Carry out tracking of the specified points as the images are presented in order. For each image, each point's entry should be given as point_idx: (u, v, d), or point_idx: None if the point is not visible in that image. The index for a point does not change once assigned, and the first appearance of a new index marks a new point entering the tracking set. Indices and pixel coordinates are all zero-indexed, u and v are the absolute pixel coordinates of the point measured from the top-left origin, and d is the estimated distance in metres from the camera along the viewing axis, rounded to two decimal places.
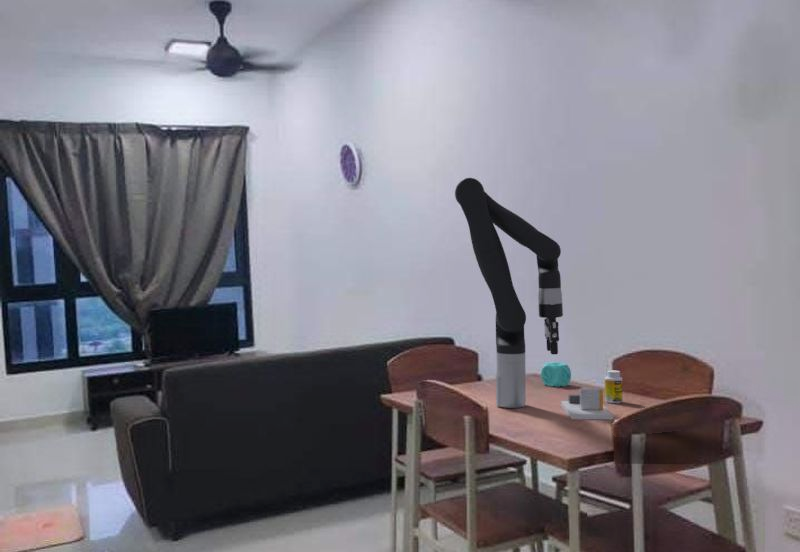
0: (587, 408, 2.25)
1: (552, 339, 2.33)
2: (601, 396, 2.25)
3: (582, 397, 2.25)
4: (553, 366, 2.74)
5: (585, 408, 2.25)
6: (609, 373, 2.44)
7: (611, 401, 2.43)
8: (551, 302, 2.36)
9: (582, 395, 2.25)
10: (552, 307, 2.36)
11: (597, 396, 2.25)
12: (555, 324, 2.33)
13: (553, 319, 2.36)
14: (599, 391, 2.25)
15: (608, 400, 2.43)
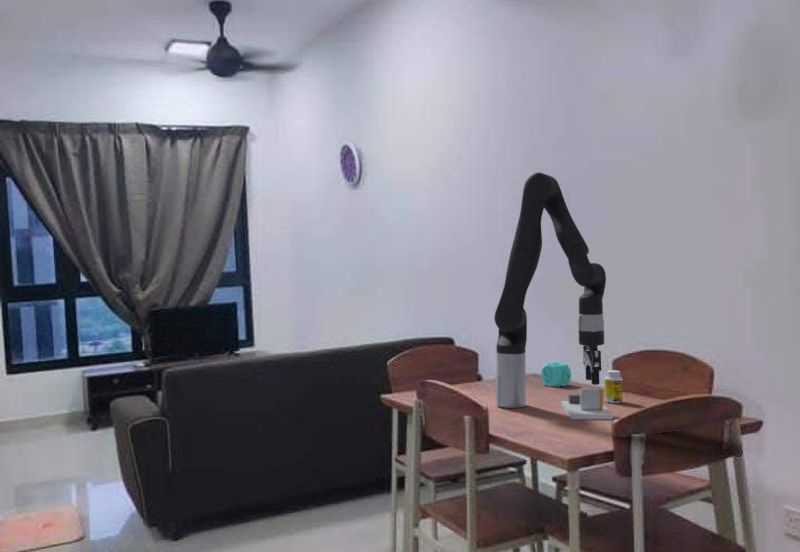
0: (587, 408, 2.25)
1: (594, 369, 2.19)
2: (601, 396, 2.25)
3: (582, 397, 2.25)
4: (553, 366, 2.74)
5: (585, 408, 2.25)
6: (609, 373, 2.44)
7: (611, 401, 2.43)
8: (593, 329, 2.22)
9: (582, 395, 2.25)
10: (594, 334, 2.22)
11: (597, 396, 2.25)
12: (597, 353, 2.19)
13: (595, 347, 2.22)
14: (599, 391, 2.25)
15: (608, 400, 2.43)
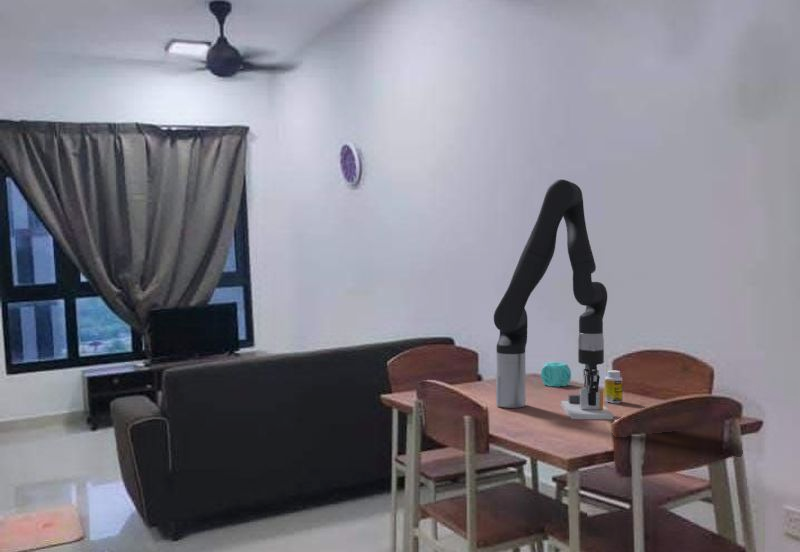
0: (587, 408, 2.25)
1: (591, 391, 2.22)
2: (601, 396, 2.25)
3: (582, 397, 2.25)
4: (553, 366, 2.74)
5: (585, 408, 2.25)
6: (609, 373, 2.44)
7: (611, 401, 2.43)
8: (592, 348, 2.22)
9: (582, 395, 2.25)
10: (593, 354, 2.22)
11: (597, 396, 2.25)
12: (596, 378, 2.20)
13: (594, 366, 2.22)
14: (599, 391, 2.25)
15: (608, 400, 2.43)
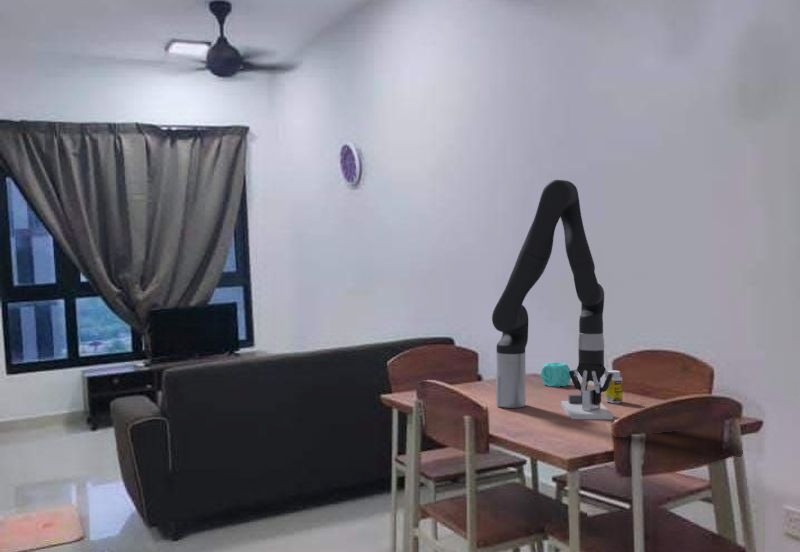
0: (592, 408, 2.25)
1: (605, 390, 2.24)
2: None
3: (590, 398, 2.24)
4: (553, 366, 2.74)
5: (591, 409, 2.24)
6: None
7: (611, 401, 2.43)
8: (603, 348, 2.24)
9: (590, 396, 2.24)
10: (603, 353, 2.24)
11: None
12: None
13: (603, 365, 2.25)
14: None
15: (608, 400, 2.43)
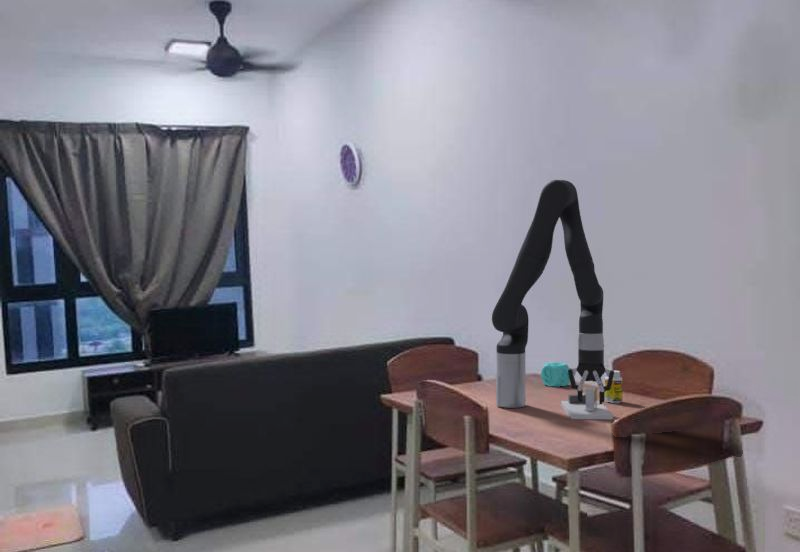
0: (594, 408, 2.25)
1: None
2: (596, 394, 2.29)
3: (594, 398, 2.23)
4: (553, 366, 2.74)
5: (594, 409, 2.24)
6: None
7: (611, 401, 2.43)
8: (603, 347, 2.25)
9: (594, 396, 2.23)
10: (603, 352, 2.25)
11: (595, 394, 2.28)
12: None
13: (603, 365, 2.25)
14: (596, 389, 2.28)
15: (608, 400, 2.43)
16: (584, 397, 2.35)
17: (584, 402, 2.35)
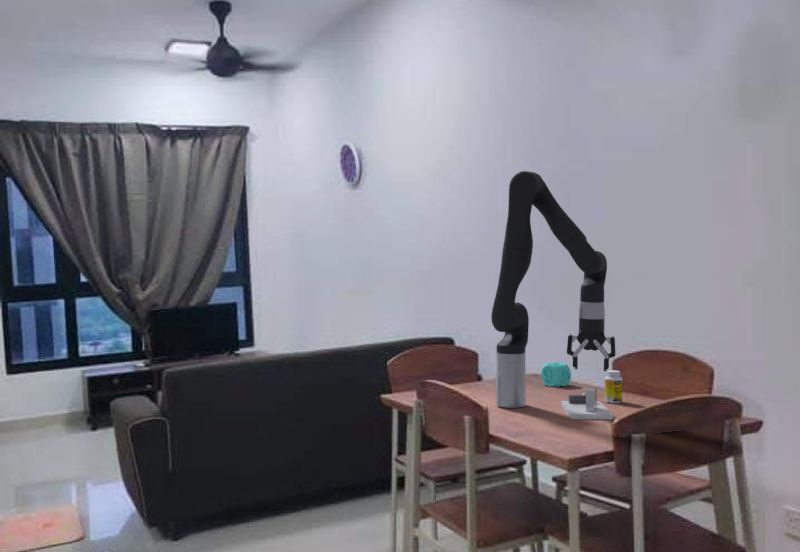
0: (594, 408, 2.25)
1: None
2: (596, 394, 2.29)
3: (594, 398, 2.23)
4: (553, 366, 2.74)
5: (594, 409, 2.24)
6: (609, 373, 2.44)
7: (611, 401, 2.43)
8: (604, 316, 2.25)
9: (594, 396, 2.23)
10: None
11: (595, 394, 2.28)
12: (614, 339, 2.25)
13: None
14: (596, 389, 2.28)
15: (608, 400, 2.43)
16: (584, 397, 2.35)
17: (584, 402, 2.35)
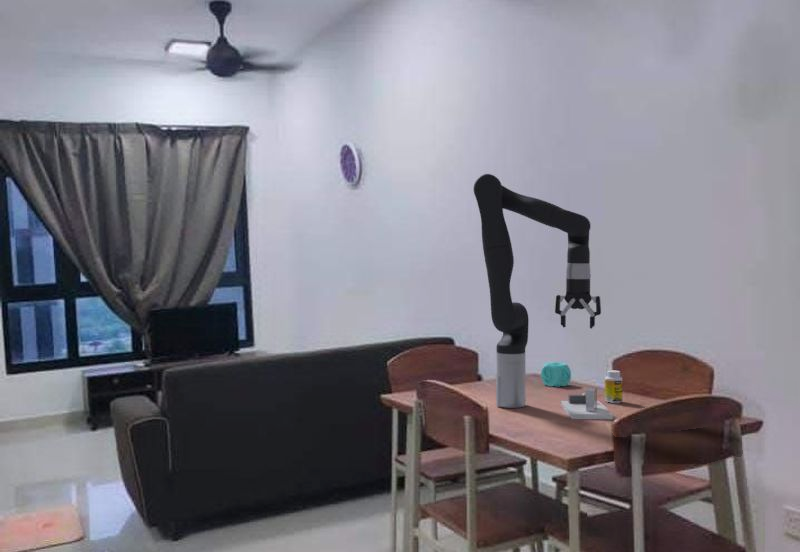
0: (594, 408, 2.25)
1: (600, 313, 2.37)
2: (596, 394, 2.29)
3: (594, 398, 2.23)
4: (553, 366, 2.74)
5: (594, 409, 2.24)
6: (609, 373, 2.44)
7: (611, 401, 2.43)
8: None
9: (594, 396, 2.23)
10: None
11: (595, 394, 2.28)
12: None
13: None
14: (596, 389, 2.28)
15: (608, 400, 2.43)
16: (584, 397, 2.35)
17: (584, 402, 2.35)
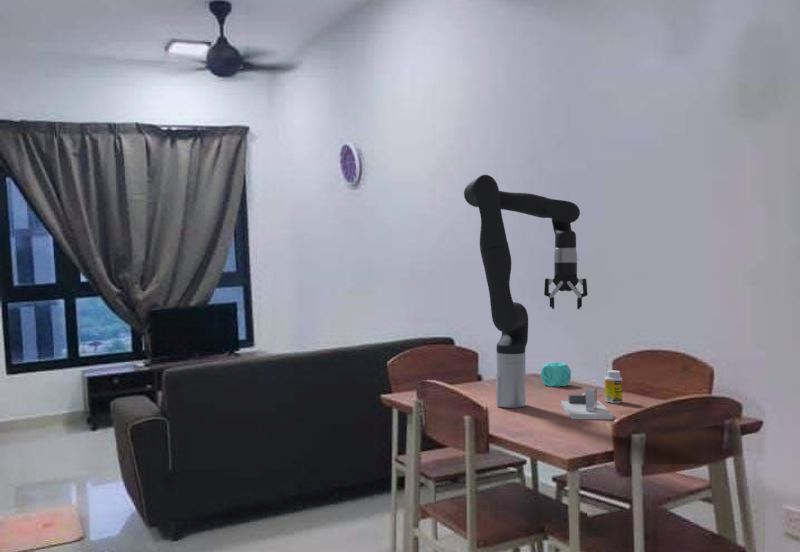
0: (594, 408, 2.25)
1: (586, 294, 2.51)
2: (596, 394, 2.29)
3: (594, 398, 2.23)
4: (553, 366, 2.74)
5: (594, 409, 2.24)
6: (609, 373, 2.44)
7: (611, 401, 2.43)
8: (576, 260, 2.52)
9: (594, 396, 2.23)
10: (576, 265, 2.52)
11: (595, 394, 2.28)
12: (586, 280, 2.52)
13: None
14: (596, 389, 2.28)
15: (608, 400, 2.43)
16: (584, 397, 2.35)
17: (584, 402, 2.35)
